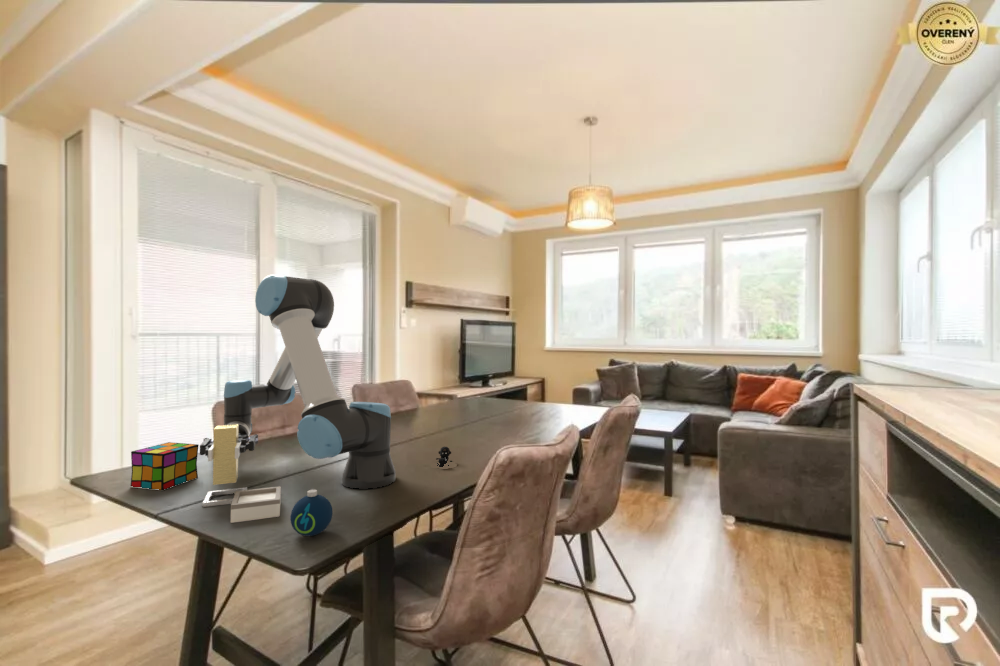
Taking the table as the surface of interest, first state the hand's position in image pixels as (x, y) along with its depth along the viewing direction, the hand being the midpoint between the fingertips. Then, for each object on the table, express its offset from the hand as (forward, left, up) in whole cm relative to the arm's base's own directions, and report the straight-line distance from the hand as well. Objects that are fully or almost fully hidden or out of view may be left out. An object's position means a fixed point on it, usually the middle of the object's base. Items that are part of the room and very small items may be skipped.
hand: (223, 454), depth 114 cm
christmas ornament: (-22, +24, -13) cm, 35 cm away
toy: (+19, -24, -13) cm, 33 cm away
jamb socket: (0, -5, -13) cm, 14 cm away
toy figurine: (-60, -19, -13) cm, 64 cm away
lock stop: (0, -5, -8) cm, 10 cm away
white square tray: (-9, +7, -13) cm, 17 cm away
